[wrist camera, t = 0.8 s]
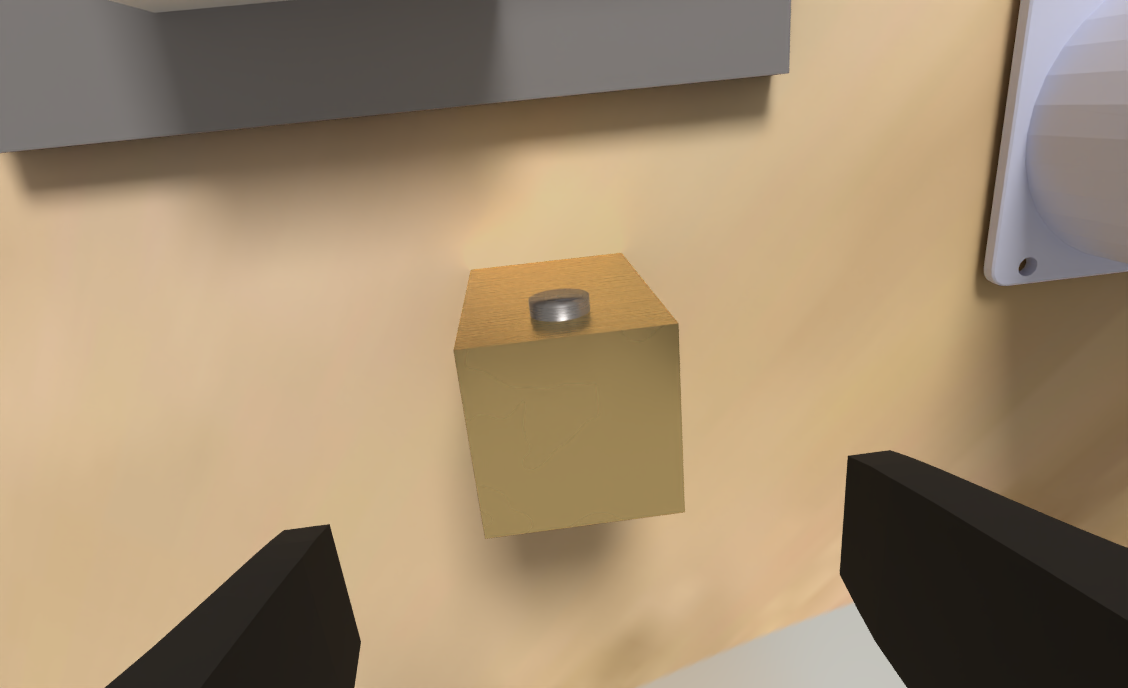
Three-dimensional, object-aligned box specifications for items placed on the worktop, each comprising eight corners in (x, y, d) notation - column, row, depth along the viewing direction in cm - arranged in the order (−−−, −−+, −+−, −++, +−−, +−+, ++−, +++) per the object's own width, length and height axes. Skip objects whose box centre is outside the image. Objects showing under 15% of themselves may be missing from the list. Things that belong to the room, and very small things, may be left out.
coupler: (620, 241, 17) (678, 307, 11) (631, 398, 19) (685, 524, 13) (469, 258, 17) (450, 334, 11) (492, 415, 18) (486, 551, 13)
